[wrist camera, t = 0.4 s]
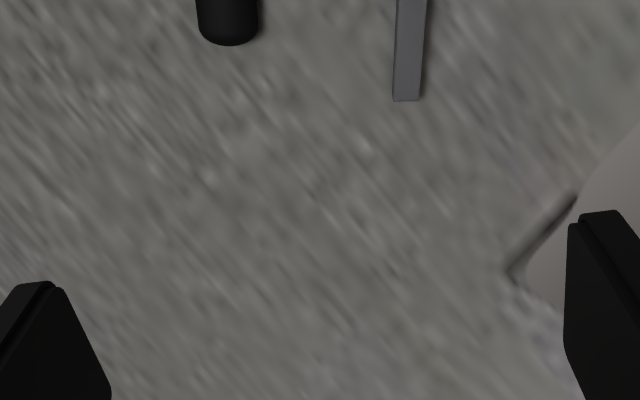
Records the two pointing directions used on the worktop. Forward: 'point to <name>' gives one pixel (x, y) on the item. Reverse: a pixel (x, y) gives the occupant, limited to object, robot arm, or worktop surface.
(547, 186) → the worktop surface
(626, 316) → the robot arm
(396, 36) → the door handle
